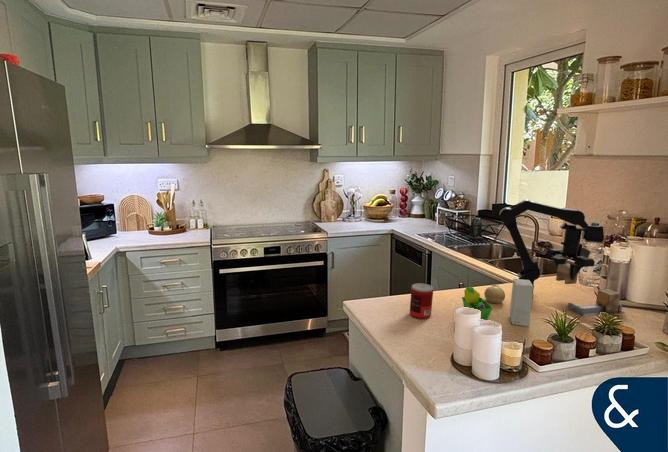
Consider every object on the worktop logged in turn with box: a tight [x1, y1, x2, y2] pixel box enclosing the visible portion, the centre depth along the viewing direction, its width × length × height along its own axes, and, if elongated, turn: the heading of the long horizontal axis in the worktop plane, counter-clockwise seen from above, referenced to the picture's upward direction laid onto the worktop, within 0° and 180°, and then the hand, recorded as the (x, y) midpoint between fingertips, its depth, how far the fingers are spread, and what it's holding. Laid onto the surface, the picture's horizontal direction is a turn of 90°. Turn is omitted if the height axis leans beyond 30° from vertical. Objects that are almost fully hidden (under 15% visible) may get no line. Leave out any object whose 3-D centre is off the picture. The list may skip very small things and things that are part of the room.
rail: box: [564, 302, 626, 318], centre depth 157 cm, size 20×9×3 cm, turn 106°
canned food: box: [409, 282, 434, 320], centre depth 148 cm, size 8×8×11 cm
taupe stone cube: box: [595, 288, 622, 312], centre depth 158 cm, size 6×5×7 cm
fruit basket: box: [461, 286, 494, 321], centre depth 150 cm, size 11×9×11 cm
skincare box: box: [509, 278, 534, 328], centre depth 145 cm, size 8×6×15 cm
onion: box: [483, 283, 506, 304], centre depth 165 cm, size 8×8×7 cm
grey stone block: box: [555, 262, 579, 285], centre depth 167 cm, size 6×5×7 cm
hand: (566, 277), depth 167 cm, fingers closed on grey stone block, 5 cm apart
